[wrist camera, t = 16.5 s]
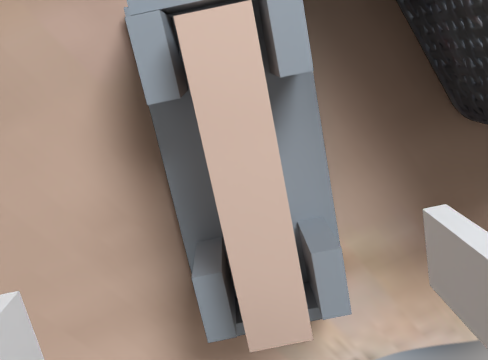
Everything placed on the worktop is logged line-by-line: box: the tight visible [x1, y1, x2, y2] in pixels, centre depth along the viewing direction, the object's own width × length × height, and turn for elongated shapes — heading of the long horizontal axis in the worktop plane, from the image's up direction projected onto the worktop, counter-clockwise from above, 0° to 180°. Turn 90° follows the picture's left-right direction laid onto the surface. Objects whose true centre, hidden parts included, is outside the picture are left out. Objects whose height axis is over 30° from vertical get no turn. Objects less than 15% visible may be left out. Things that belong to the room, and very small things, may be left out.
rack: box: [124, 0, 352, 343], centre depth 32 cm, size 12×24×8 cm, turn 11°
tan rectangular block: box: [173, 0, 313, 352], centre depth 30 cm, size 4×20×9 cm, turn 11°
